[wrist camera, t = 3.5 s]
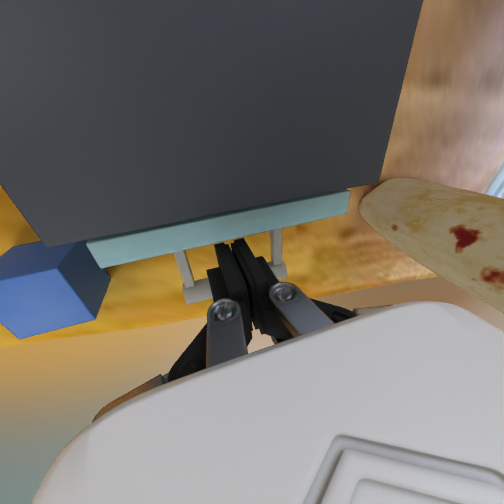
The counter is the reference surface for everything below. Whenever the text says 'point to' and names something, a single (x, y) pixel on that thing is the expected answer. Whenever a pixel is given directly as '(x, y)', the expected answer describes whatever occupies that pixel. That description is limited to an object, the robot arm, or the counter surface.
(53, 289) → the blue cube
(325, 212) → the teal drawer
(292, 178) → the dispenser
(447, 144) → the counter surface
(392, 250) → the counter surface
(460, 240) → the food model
